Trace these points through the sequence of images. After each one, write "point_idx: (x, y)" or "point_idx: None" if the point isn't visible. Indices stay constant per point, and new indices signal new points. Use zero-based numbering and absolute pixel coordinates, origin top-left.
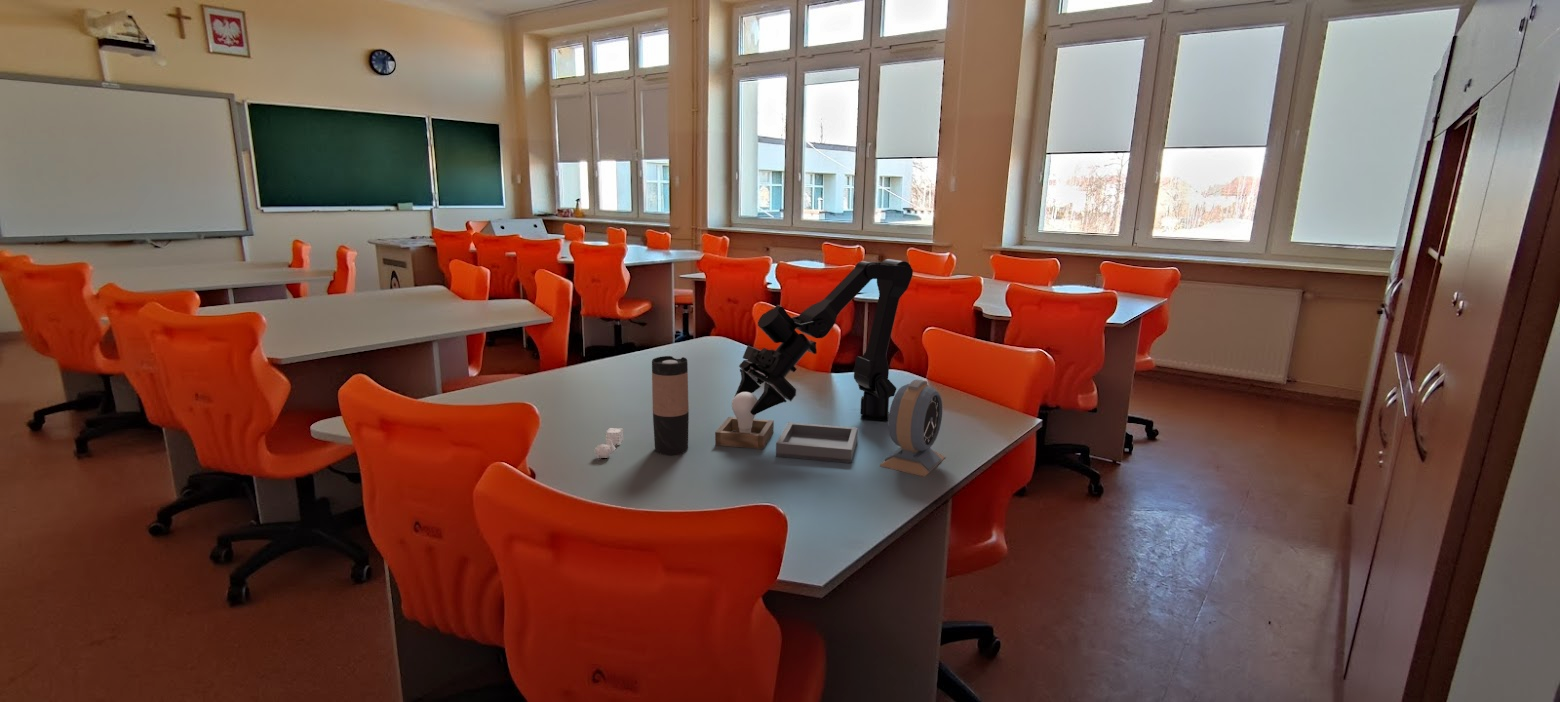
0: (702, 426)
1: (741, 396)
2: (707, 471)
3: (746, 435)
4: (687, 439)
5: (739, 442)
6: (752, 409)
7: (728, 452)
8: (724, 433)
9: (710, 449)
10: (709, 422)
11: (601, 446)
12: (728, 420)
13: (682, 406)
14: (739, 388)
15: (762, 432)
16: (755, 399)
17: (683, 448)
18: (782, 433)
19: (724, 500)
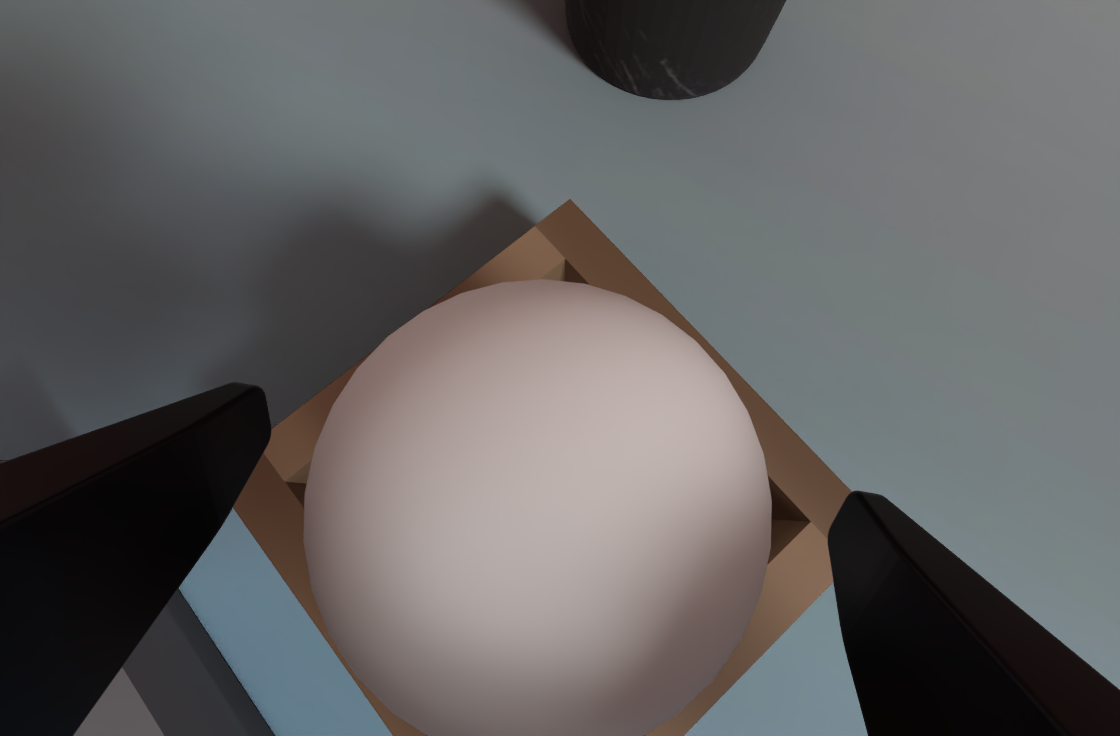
0: (980, 384)
1: (471, 344)
2: (242, 8)
3: (350, 373)
4: (595, 10)
5: None
6: (208, 400)
7: (398, 248)
8: (508, 249)
9: (519, 186)
10: (1051, 484)
11: None
12: (782, 462)
13: None
14: (1059, 688)
15: (292, 532)
16: (330, 616)
17: (568, 13)
18: (128, 692)
19: None
